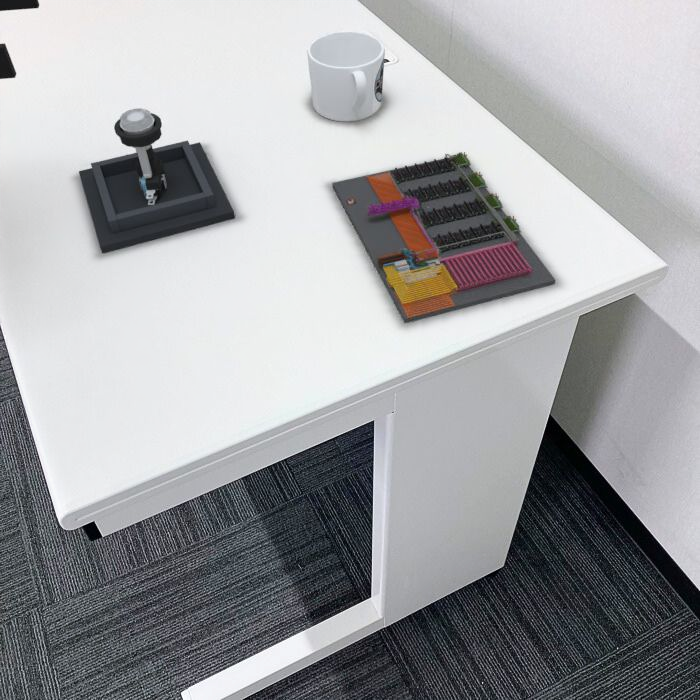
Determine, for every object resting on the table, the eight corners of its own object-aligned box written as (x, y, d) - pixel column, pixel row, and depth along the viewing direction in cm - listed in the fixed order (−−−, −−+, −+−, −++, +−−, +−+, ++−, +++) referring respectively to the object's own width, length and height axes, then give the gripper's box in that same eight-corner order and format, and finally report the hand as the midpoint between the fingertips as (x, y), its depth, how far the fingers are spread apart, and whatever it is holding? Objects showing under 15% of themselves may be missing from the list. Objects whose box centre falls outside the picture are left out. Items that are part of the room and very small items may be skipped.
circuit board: (554, 283, 81) (559, 265, 79) (404, 322, 78) (405, 304, 75) (460, 158, 97) (462, 140, 95) (332, 186, 93) (331, 168, 91)
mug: (303, 90, 109) (299, 36, 102) (372, 79, 110) (372, 26, 104) (325, 140, 100) (322, 85, 94) (399, 127, 102) (401, 72, 96)
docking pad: (102, 253, 86) (95, 234, 84) (80, 177, 96) (74, 159, 93) (235, 218, 90) (231, 199, 87) (201, 148, 99) (197, 130, 97)
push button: (173, 207, 89) (155, 135, 82) (129, 210, 89) (107, 137, 82) (177, 174, 94) (161, 103, 86) (135, 177, 94) (115, 105, 86)
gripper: (-154, 21, 77) (54, 5, 79) (-250, 159, 61) (14, 136, 62) (-195, -56, 71) (30, -71, 73) (-313, 73, 55) (-21, 50, 57)
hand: (23, 24), depth 68 cm, fingers open, 13 cm apart
